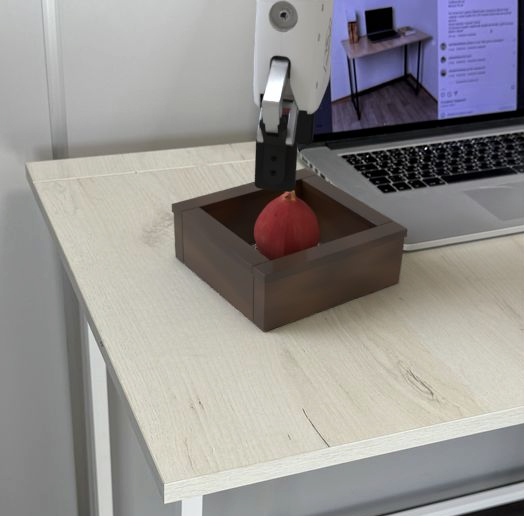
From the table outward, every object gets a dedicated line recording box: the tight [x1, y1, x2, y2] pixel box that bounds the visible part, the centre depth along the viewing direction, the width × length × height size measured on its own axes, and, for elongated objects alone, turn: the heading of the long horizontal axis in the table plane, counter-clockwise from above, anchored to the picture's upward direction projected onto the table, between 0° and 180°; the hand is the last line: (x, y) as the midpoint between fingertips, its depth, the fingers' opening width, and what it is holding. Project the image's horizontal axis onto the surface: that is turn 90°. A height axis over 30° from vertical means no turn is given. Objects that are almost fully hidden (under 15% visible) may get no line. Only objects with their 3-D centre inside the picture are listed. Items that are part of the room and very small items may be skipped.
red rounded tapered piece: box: [254, 190, 320, 261], centre depth 78 cm, size 6×6×8 cm
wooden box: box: [171, 167, 408, 333], centre depth 78 cm, size 15×15×5 cm
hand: (285, 164), depth 74 cm, fingers open, 9 cm apart
